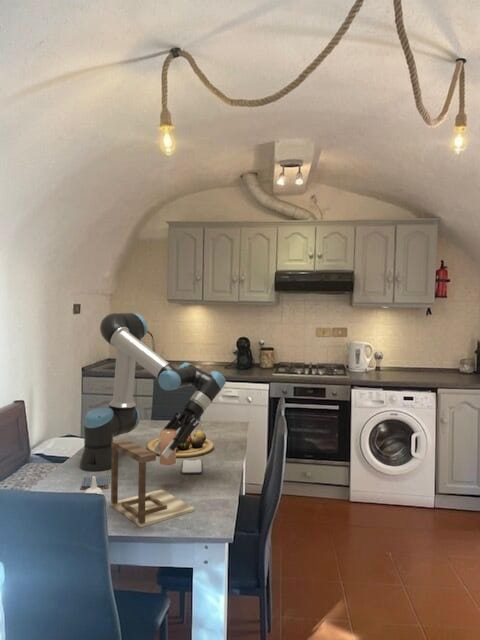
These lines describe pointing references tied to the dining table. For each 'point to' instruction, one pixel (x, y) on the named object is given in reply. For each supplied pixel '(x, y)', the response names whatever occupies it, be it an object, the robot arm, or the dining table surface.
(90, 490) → the garlic bulb
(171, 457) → the tan cylinder
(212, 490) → the dining table surface
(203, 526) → the dining table surface
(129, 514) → the wooden c-frame stand
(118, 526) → the dining table surface
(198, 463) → the phone case
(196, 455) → the wooden plate with food
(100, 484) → the woven mat
